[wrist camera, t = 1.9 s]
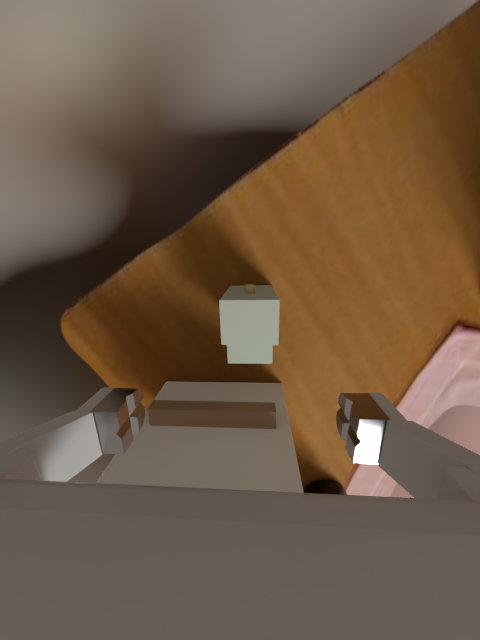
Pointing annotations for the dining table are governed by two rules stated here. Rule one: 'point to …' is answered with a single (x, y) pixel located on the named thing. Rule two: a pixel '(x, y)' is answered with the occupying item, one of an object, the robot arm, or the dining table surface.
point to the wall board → (212, 440)
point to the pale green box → (249, 323)
